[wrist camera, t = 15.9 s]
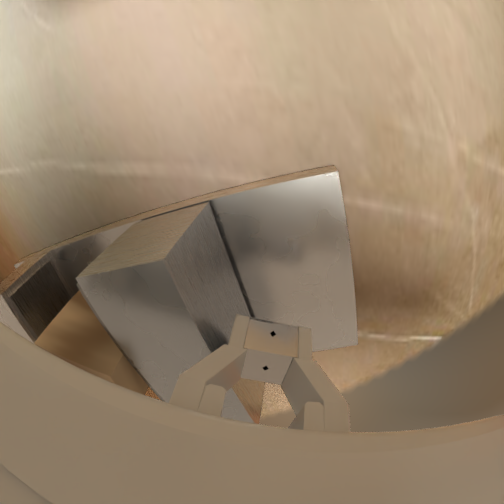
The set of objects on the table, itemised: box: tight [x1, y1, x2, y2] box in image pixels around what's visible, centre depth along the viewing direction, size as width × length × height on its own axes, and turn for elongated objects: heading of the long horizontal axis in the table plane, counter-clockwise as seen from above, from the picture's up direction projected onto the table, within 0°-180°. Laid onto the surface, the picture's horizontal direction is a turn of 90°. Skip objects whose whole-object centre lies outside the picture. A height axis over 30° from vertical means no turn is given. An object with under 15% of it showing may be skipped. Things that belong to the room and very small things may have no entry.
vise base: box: [0, 165, 358, 352], centre depth 14 cm, size 24×10×6 cm, turn 106°
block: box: [34, 290, 148, 395], centre depth 13 cm, size 5×4×6 cm
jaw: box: [76, 202, 265, 424], centre depth 12 cm, size 5×10×5 cm, turn 16°
